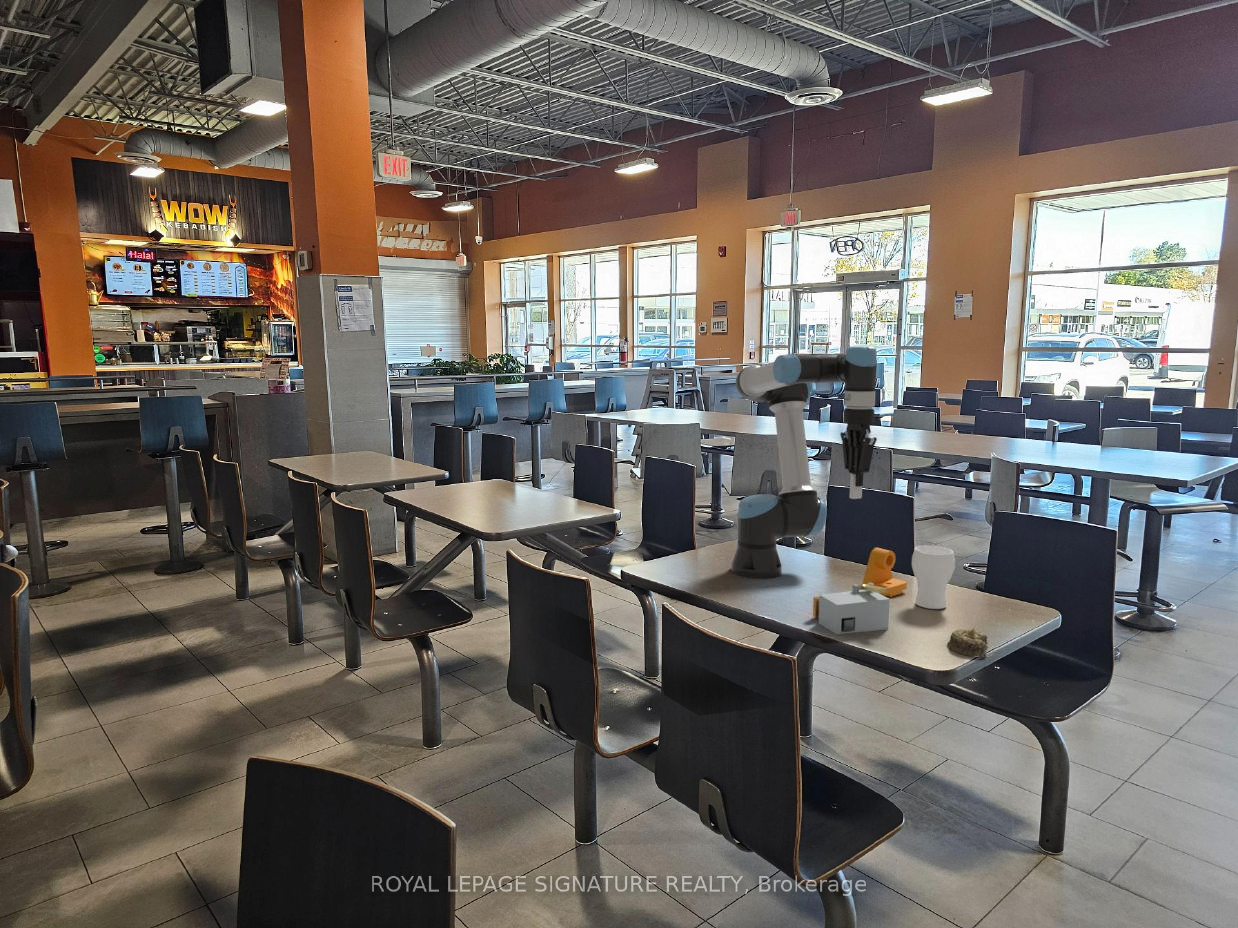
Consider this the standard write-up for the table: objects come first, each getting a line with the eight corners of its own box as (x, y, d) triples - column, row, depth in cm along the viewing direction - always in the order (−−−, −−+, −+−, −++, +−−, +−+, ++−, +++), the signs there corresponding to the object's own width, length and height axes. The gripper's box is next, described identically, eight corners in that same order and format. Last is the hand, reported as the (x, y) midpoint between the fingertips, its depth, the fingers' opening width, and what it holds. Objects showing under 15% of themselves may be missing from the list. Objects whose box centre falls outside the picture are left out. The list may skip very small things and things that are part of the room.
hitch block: (818, 625, 195) (819, 587, 194) (868, 619, 199) (870, 582, 198) (836, 637, 188) (837, 597, 186) (888, 630, 192) (889, 591, 190)
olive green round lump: (947, 656, 176) (948, 633, 176) (945, 640, 186) (947, 618, 185) (996, 662, 173) (998, 638, 172) (992, 645, 182) (993, 623, 181)
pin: (812, 616, 199) (813, 597, 198) (830, 613, 200) (830, 595, 200) (839, 633, 187) (840, 612, 187) (857, 630, 189) (858, 610, 188)
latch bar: (856, 589, 196) (856, 584, 196) (867, 588, 197) (867, 583, 197) (877, 593, 188) (876, 588, 188) (888, 592, 189) (888, 587, 189)
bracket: (884, 598, 215) (886, 556, 213) (862, 592, 221) (863, 550, 219) (907, 591, 221) (909, 550, 219) (885, 584, 227) (887, 544, 225)
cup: (909, 608, 207) (912, 553, 205) (909, 596, 217) (912, 543, 214) (953, 613, 203) (956, 556, 201) (951, 600, 213) (954, 546, 211)
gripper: (832, 406, 206) (829, 494, 210) (861, 410, 193) (857, 503, 197) (857, 405, 208) (854, 492, 212) (887, 409, 196) (883, 502, 199)
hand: (855, 498), depth 204 cm, fingers closed
